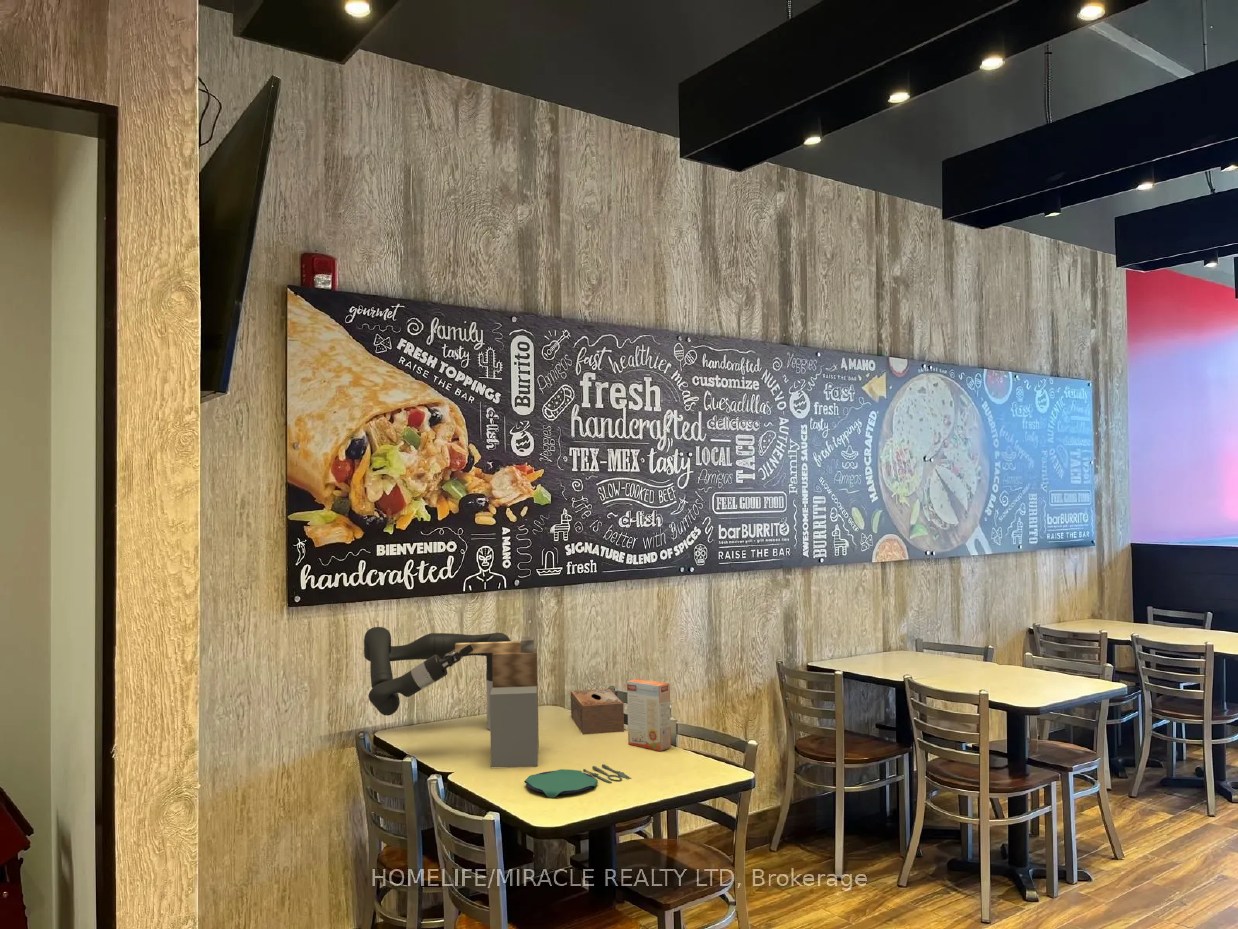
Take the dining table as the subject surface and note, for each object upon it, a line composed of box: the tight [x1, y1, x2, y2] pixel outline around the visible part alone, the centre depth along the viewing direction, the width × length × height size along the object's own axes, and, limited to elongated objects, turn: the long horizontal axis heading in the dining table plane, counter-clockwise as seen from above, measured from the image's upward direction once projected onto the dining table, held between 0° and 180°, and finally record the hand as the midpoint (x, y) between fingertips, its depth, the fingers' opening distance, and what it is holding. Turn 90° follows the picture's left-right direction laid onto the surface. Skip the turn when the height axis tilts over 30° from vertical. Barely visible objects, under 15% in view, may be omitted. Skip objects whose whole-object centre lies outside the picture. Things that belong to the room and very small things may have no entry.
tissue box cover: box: [570, 687, 625, 736], centre depth 323 cm, size 26×14×10 cm, turn 12°
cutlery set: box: [524, 764, 633, 799], centre depth 255 cm, size 20×30×2 cm, turn 124°
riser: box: [492, 647, 540, 750], centre depth 289 cm, size 14×10×32 cm
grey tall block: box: [489, 686, 539, 768], centre depth 277 cm, size 14×10×22 cm
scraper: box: [455, 635, 535, 654], centre depth 289 cm, size 25×8×4 cm, turn 94°
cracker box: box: [626, 678, 672, 752], centre depth 292 cm, size 14×6×21 cm, turn 47°
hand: (473, 645), depth 289 cm, fingers open, 8 cm apart
